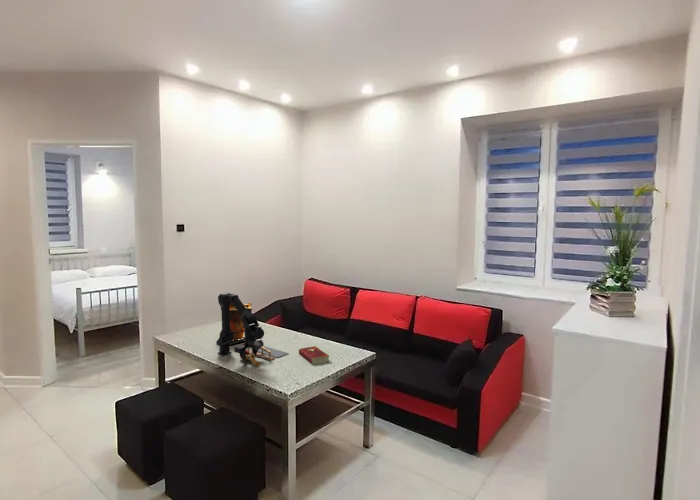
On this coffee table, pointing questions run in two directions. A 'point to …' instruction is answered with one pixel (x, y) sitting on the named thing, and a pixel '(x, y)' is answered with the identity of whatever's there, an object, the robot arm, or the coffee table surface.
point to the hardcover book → (313, 355)
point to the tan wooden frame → (264, 354)
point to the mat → (273, 352)
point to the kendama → (251, 358)
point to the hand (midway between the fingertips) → (249, 360)
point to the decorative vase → (237, 321)
